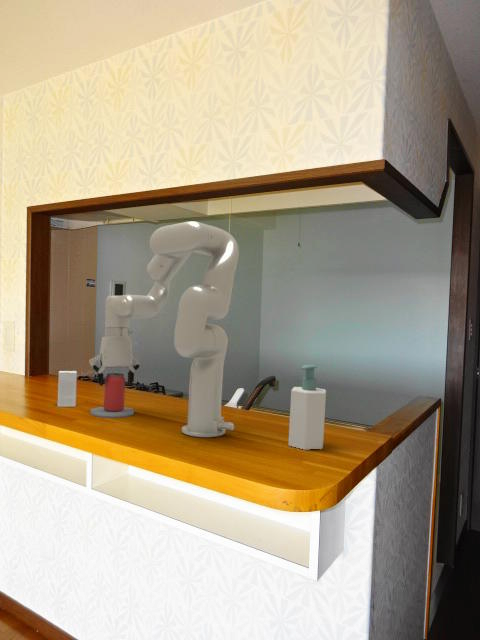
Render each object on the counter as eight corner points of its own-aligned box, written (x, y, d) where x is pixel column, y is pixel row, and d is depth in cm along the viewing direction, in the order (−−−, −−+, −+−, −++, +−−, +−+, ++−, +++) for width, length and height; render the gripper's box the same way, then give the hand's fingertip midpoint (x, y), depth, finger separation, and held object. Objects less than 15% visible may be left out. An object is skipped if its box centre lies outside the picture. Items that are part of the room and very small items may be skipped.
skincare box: (75, 404, 176) (77, 370, 175) (75, 406, 171) (77, 372, 171) (57, 404, 174) (58, 370, 173) (56, 407, 170) (58, 372, 169)
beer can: (118, 413, 160) (120, 376, 160) (99, 411, 161) (101, 374, 161) (127, 409, 167) (128, 373, 166) (109, 407, 168) (110, 372, 168)
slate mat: (141, 411, 169) (141, 408, 169) (120, 419, 155) (120, 416, 155) (105, 407, 173) (105, 404, 173) (81, 414, 159) (81, 411, 159)
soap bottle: (280, 444, 136) (285, 364, 135) (300, 439, 142) (304, 362, 142) (312, 452, 129) (317, 368, 129) (330, 446, 136) (335, 366, 135)
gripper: (139, 333, 171) (137, 382, 171) (87, 332, 163) (86, 384, 163) (145, 333, 164) (144, 385, 164) (92, 333, 156) (91, 387, 156)
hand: (115, 384), depth 163 cm, fingers open, 9 cm apart
